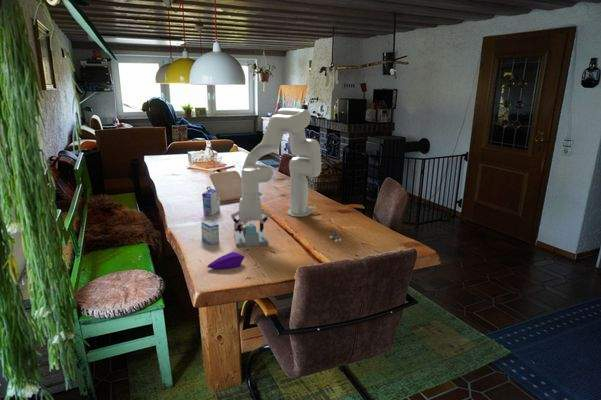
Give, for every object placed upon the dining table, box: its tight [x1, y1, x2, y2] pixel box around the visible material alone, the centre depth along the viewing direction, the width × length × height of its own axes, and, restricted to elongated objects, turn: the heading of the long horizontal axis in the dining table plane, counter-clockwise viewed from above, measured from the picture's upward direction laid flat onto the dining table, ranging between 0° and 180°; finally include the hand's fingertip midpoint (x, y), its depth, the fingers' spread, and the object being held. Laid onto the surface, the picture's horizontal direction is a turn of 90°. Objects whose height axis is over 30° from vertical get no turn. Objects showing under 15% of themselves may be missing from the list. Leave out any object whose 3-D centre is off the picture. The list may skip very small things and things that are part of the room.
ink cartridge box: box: [201, 185, 221, 217], centre depth 217 cm, size 10×6×14 cm, turn 164°
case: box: [209, 170, 242, 205], centre depth 245 cm, size 20×21×16 cm
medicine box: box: [200, 220, 220, 245], centre depth 180 cm, size 8×4×9 cm, turn 45°
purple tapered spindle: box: [206, 251, 245, 270], centre depth 156 cm, size 5×5×15 cm
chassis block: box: [233, 224, 269, 248], centre depth 183 cm, size 14×15×5 cm
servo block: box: [245, 222, 257, 235], centre depth 183 cm, size 4×10×8 cm, turn 13°
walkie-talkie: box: [233, 221, 253, 231], centre depth 199 cm, size 9×4×20 cm
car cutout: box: [329, 230, 342, 243], centre depth 182 cm, size 15×7×4 cm, turn 26°
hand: (250, 231), depth 183 cm, fingers open, 9 cm apart
